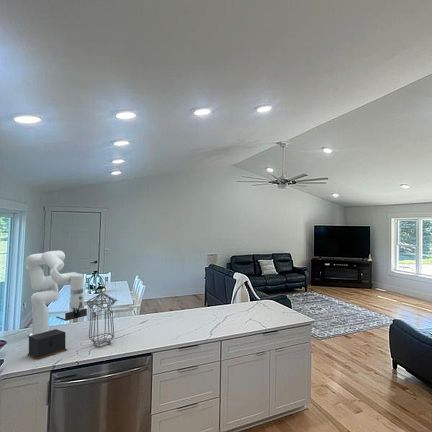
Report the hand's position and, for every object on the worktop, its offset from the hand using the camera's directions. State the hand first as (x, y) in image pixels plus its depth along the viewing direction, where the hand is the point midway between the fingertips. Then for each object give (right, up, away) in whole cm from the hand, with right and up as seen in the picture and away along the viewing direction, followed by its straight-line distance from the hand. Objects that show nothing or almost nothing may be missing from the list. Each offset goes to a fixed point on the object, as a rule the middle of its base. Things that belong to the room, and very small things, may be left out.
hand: (76, 317), depth 231 cm
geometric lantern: (+21, -17, -5) cm, 27 cm away
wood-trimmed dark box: (-6, -17, -19) cm, 26 cm away
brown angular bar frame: (-5, 0, +3) cm, 6 cm away
